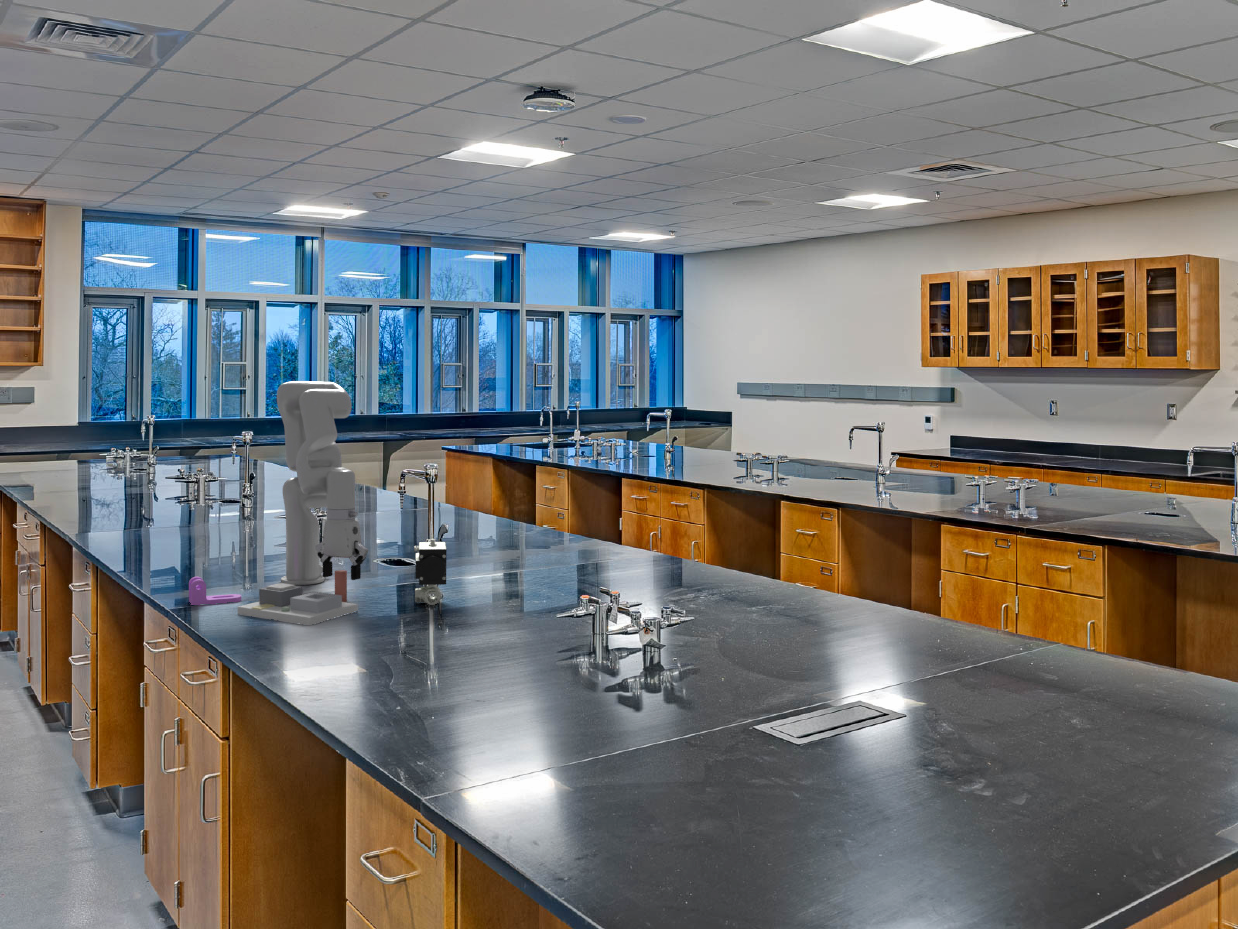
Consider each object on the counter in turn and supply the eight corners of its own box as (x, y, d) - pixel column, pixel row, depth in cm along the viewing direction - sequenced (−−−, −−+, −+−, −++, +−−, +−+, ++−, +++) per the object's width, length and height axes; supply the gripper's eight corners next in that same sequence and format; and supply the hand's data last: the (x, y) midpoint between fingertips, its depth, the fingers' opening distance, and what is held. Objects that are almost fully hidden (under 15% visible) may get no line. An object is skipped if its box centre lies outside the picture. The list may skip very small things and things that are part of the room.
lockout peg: (340, 602, 278) (340, 569, 277) (349, 603, 277) (349, 570, 276) (332, 604, 275) (332, 571, 275) (341, 605, 274) (341, 572, 273)
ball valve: (414, 596, 287) (414, 534, 286) (444, 596, 289) (445, 534, 287) (413, 611, 270) (414, 544, 268) (446, 610, 271) (446, 544, 270)
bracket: (191, 606, 270) (191, 580, 269) (188, 602, 275) (188, 577, 274) (242, 602, 276) (242, 577, 276) (239, 598, 281) (239, 573, 280)
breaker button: (280, 597, 270) (280, 583, 270) (294, 599, 268) (294, 585, 268) (266, 601, 265) (266, 586, 265) (281, 603, 263) (281, 588, 263)
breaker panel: (288, 601, 278) (288, 579, 277) (357, 611, 267) (357, 589, 267) (237, 614, 261) (237, 591, 261) (309, 625, 251) (309, 601, 251)
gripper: (375, 515, 274) (376, 578, 275) (325, 512, 281) (326, 573, 282) (357, 518, 267) (357, 582, 268) (306, 514, 274) (307, 577, 275)
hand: (341, 578), depth 275 cm, fingers open, 9 cm apart
